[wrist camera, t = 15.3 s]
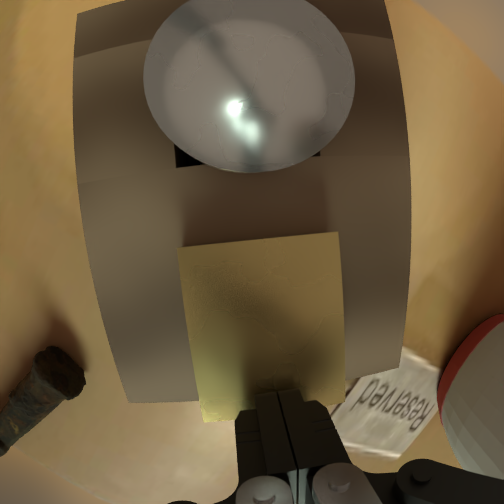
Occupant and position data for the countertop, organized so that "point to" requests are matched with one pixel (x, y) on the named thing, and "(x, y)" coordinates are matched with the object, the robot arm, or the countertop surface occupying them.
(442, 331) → the countertop surface
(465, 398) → the citrus juicer
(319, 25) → the reflector light bulb
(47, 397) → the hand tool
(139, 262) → the block
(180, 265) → the plate
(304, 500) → the robot arm
